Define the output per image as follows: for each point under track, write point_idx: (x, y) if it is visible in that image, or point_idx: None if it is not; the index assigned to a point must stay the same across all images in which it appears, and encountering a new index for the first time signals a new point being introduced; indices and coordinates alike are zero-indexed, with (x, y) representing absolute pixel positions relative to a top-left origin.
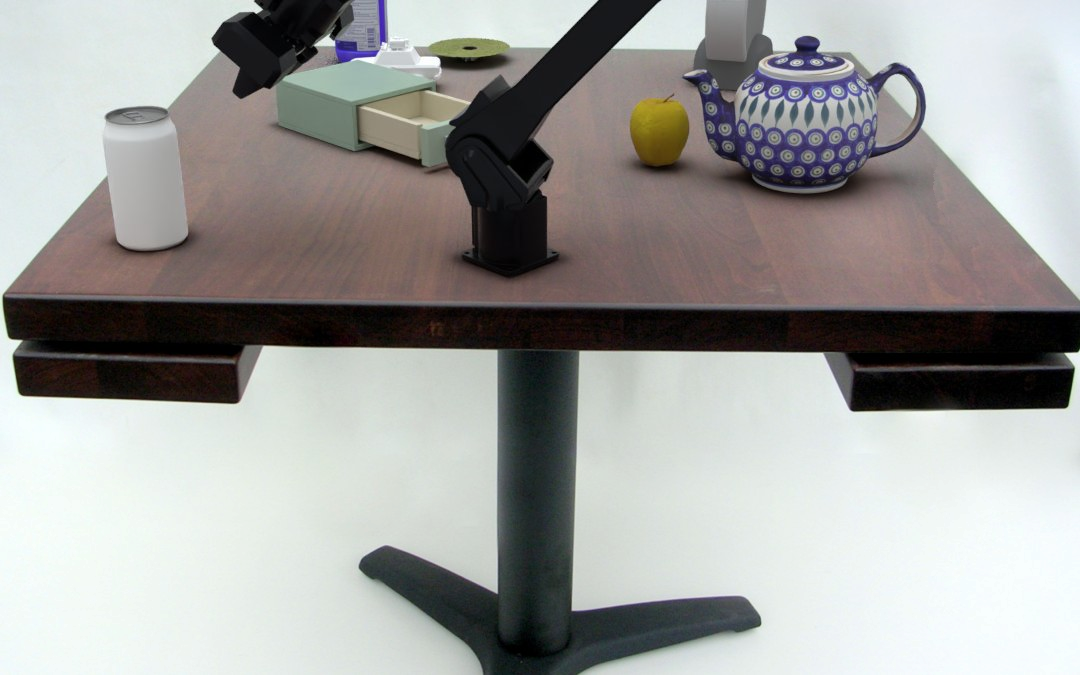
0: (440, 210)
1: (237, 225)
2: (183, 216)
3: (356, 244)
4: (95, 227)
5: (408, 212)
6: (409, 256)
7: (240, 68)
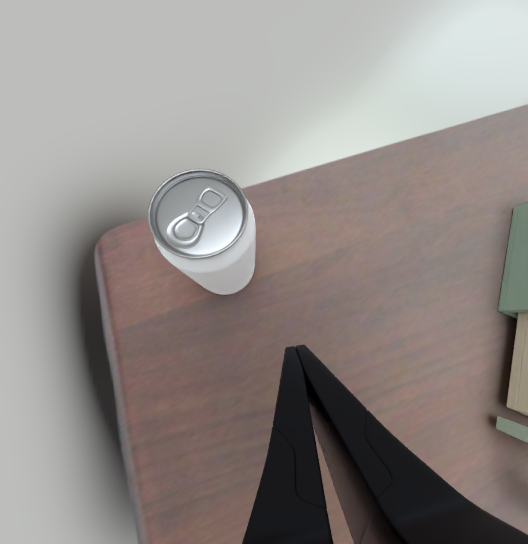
0: None
1: (281, 313)
2: (228, 291)
3: None
4: None
5: None
6: None
7: (275, 413)
